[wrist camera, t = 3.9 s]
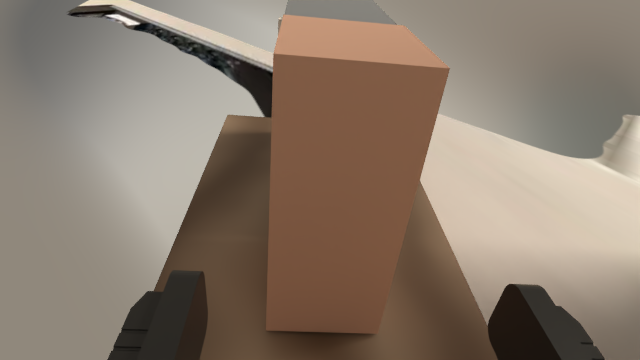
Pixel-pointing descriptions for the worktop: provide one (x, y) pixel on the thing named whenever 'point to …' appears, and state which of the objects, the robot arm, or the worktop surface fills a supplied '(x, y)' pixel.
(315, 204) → the terracotta stub
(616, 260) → the worktop surface
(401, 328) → the walnut board
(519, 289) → the robot arm
